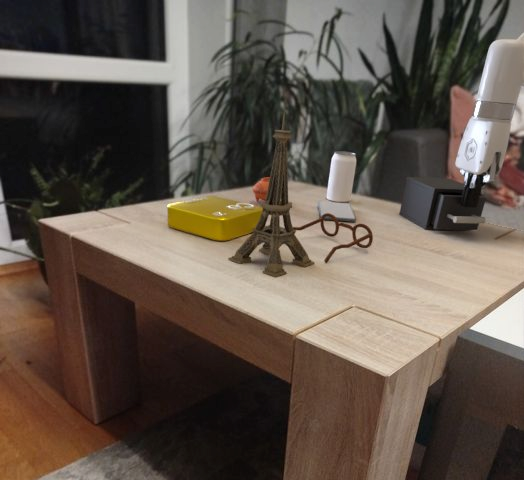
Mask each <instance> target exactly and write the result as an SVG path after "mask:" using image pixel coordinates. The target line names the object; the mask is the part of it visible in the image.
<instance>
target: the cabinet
mask: <svg viewBox="0 0 524 480" xmlns="http://www.w3.org/2000/svg"><path fill="white" fill-rule="evenodd" d="M463 183H464V182H460V181H457V180H455V179H453V178H444V177H442V178H441V177H425V176H424V177H422V176H406V180H405V185H404V189H403V194H402V195H403V196H402V199H401V204H400V209H399V215H400V216H401V217H403V218H405V219H407V220H408V221H410V222H412V223H414V224H415V225H417V226H419V227H420V228H422V229H424V230H431V231H433V230H434V231H435V230H436V229H434V228H433V227H434V225H432V224H430V221H431V217H432V212H433V208H434V204H435V199H436V195H437V192H443V193H463V190H464V185H463ZM465 187H466V186H465Z"/></svg>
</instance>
